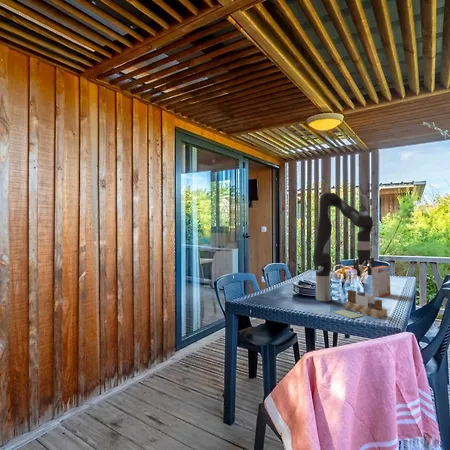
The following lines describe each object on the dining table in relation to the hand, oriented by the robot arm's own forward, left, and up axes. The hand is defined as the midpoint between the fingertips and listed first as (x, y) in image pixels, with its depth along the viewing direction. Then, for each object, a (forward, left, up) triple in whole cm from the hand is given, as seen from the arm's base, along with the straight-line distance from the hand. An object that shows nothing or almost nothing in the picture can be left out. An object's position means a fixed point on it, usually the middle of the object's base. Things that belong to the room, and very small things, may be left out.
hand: (364, 275), depth 188 cm
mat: (-1, -12, -22) cm, 25 cm away
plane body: (0, 0, -22) cm, 22 cm away
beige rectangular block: (0, 0, -18) cm, 18 cm away
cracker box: (-25, +44, -22) cm, 55 cm away
